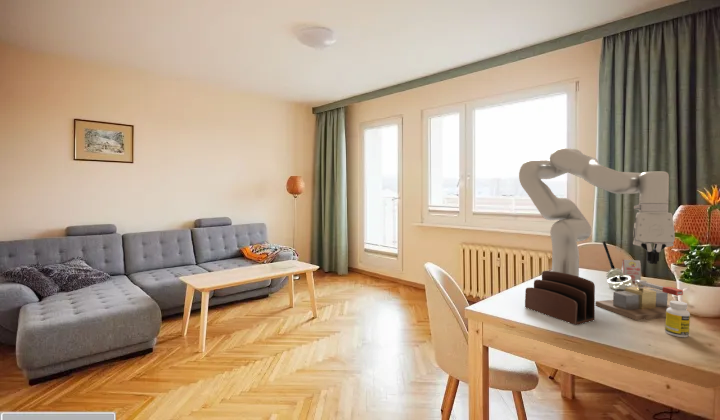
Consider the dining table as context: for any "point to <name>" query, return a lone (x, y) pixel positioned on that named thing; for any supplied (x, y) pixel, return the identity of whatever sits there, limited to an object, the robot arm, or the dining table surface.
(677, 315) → the supplement bottle
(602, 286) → the dining table surface
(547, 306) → the letter holder
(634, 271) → the printed carton box
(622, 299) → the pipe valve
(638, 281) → the valve lever
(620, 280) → the butterfly valve
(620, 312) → the board
